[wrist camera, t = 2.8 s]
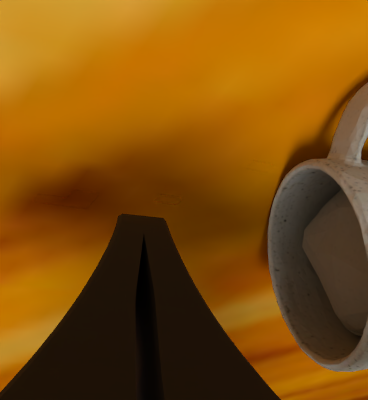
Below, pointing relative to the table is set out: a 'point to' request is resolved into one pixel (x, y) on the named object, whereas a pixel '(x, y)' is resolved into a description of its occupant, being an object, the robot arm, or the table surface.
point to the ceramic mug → (326, 247)
